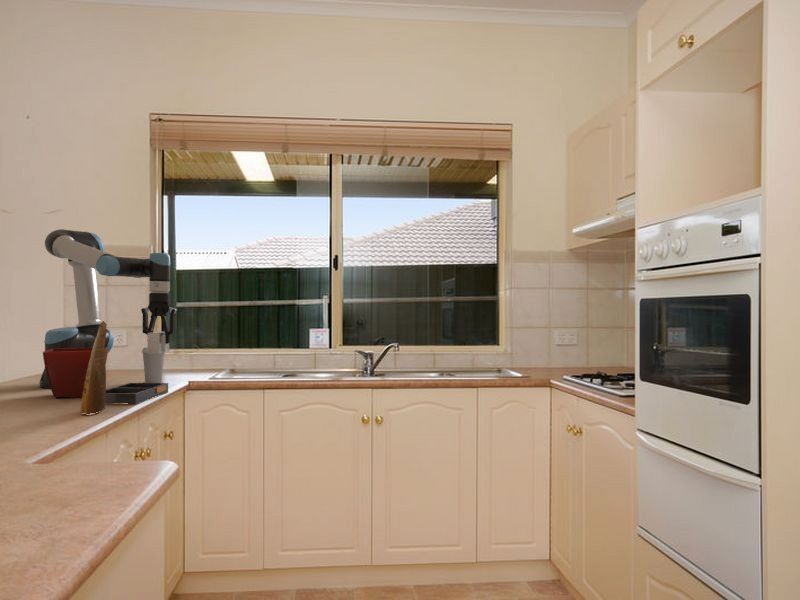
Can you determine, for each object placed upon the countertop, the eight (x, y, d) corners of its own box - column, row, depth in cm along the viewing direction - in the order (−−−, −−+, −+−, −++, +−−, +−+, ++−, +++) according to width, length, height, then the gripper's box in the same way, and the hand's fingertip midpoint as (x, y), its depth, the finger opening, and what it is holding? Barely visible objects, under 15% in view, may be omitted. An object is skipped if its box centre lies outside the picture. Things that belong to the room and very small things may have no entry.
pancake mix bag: (113, 406, 201) (113, 320, 201) (101, 416, 182) (102, 322, 182) (90, 406, 199) (91, 320, 199) (76, 417, 180) (77, 322, 181)
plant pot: (51, 393, 228) (51, 347, 228) (108, 390, 235) (108, 346, 235) (41, 400, 210) (41, 351, 211) (103, 398, 217) (103, 350, 217)
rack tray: (92, 404, 204) (92, 393, 204) (129, 392, 232) (129, 382, 232) (136, 404, 204) (136, 393, 204) (169, 392, 232) (169, 383, 232)
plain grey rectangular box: (147, 353, 236) (147, 332, 236) (158, 351, 246) (158, 331, 246) (159, 353, 236) (159, 333, 236) (169, 351, 246) (169, 331, 246)
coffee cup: (136, 383, 258) (136, 347, 258) (154, 380, 266) (155, 345, 266) (152, 384, 253) (152, 348, 254) (170, 381, 262) (170, 346, 262)
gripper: (132, 292, 237) (132, 352, 237) (178, 292, 237) (177, 353, 237) (141, 292, 245) (140, 350, 245) (185, 292, 245) (184, 351, 245)
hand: (158, 351), depth 241 cm, fingers closed on plain grey rectangular box, 4 cm apart
